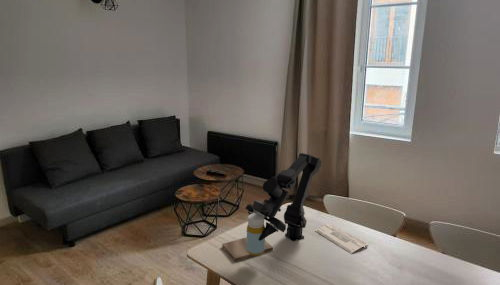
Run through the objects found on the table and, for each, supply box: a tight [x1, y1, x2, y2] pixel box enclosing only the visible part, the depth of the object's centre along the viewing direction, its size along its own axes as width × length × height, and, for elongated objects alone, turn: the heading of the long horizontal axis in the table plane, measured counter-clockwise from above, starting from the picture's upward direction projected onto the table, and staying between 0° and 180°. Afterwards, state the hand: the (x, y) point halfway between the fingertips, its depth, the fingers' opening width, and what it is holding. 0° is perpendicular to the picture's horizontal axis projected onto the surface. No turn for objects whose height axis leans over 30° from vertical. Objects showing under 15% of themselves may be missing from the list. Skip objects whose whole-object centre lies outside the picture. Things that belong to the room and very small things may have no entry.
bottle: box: [246, 213, 266, 257], centre depth 134 cm, size 7×7×15 cm
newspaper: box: [315, 223, 369, 255], centre depth 158 cm, size 23×12×2 cm, turn 34°
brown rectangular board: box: [221, 236, 274, 263], centre depth 147 cm, size 18×12×2 cm, turn 119°
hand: (253, 236), depth 133 cm, fingers closed on bottle, 7 cm apart
